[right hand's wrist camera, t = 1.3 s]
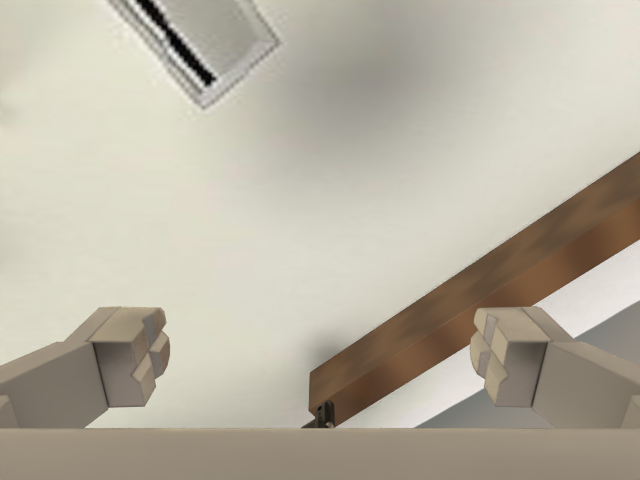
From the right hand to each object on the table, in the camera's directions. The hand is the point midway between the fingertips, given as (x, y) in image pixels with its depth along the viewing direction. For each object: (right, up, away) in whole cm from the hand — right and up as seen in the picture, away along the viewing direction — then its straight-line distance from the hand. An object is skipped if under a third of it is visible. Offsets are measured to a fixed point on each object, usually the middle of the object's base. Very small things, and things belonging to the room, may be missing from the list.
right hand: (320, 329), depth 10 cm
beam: (+22, -3, +43) cm, 48 cm away
